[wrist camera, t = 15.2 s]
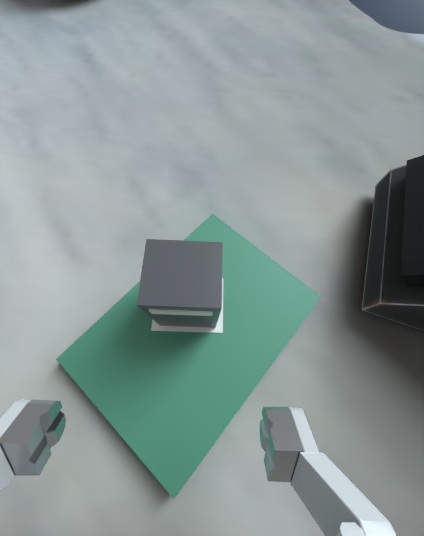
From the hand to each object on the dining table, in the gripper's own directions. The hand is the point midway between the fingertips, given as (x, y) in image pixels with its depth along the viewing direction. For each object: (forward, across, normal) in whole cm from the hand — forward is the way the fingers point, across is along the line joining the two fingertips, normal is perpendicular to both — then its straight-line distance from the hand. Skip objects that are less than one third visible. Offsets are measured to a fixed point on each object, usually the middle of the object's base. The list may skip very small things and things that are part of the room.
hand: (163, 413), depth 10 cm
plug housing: (+13, 0, +2) cm, 13 cm away
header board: (+12, -1, +5) cm, 13 cm away
